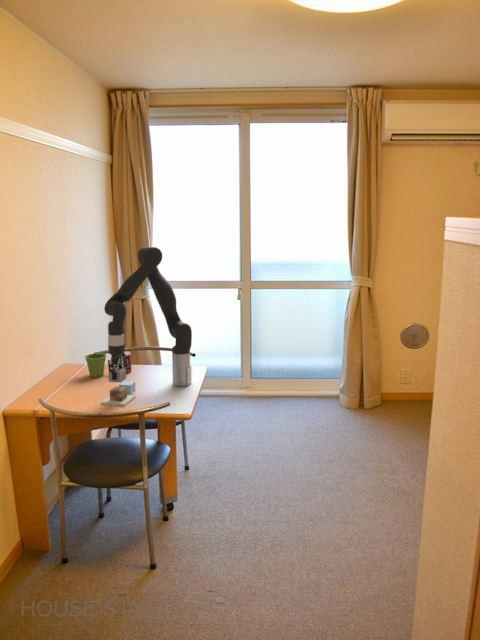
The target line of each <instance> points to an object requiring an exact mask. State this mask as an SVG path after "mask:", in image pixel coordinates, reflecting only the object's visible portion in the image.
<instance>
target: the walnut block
mask: <svg viewBox="0 0 480 640" xmlns="http://www.w3.org/2000/svg"><path fill="white" fill-rule="evenodd" d="M109 396H110V400H111V401H123V400H124V399H125V398H127V387H119V385H118V386H114V387H112V388H111V389H109Z"/></svg>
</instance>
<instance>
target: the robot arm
mask: <svg viewBox="0 0 480 640" xmlns="http://www.w3.org/2000/svg"><path fill="white" fill-rule="evenodd" d="M137 260H138V263H139V264H140V266H139V267H138V268H137V269H136V270H135V271H134V272H133V273H132V274H131V275H129V276H128V277H127V278H126V279H125V280H124V282H123V283H122V285H121V286H120V288H119V289H118V291H116V292H115V293H114V294H113V295H112V296H110V298H109V299H108V300H107V301H106V303H105V305H104V308H103V309H104V313H105V314H106V315H107V316H111V317H112V321H110V322H108V324H107V331H108V336H107V347H108V348H107V349H108V351H107V353H108V354H109V355H111V357H110V359H107V366H108V367H107V368H108V371H109V372H112V380H117V368H123V367H124V366H125V356H126V354H125V351H126V345H125V343H126V342H125V330H124V325H125V321H126V315H127V308H126V305H125V304H124V303H126V302H127V303H128V302H130V301H131V300H132V298H133V297H134V296H135V294H136V292H137V291H138V290H139V288H140V287H141V285H142V284H143V283H144V282H145V281H146V279H148V280H147V281H149V282H148V283H149V284H150V286H151V289H152V291H153V292H154V296H155V298H156V301H157V303H158V305H159V308H160V310H161V312H162V314H163V316H164V319H165V322H166V325H167V329H168V332H169V334H170V335H171V337H172V338H174V339H175V345H173V346H172V348H171V357H172V358H171V359H172V360H171V361H172V363H171V364H172V369H171V370H172V385H173V386H176V387H189V385H191V383H192V365H191V349H192V336H193V332H192V328H191V326H190V325H189V323H185V322H183V321H182V319H181V318H180V315H179V313H178V310H177V297H176V294H175V292H174V289H173V287H172V286H171V284H170V282H169V281H168V280H167V279H166V278H165V276H164V275H163V274H162V273H161V272H160V269H159V268H158V266H159V265H160V264H161V262H162V260H163V252H162V250H161V249H160V248H159V247H155V246H146V247H145V246H144V247H141V248H139V250H138V251H137ZM109 372H108V373H109Z"/></svg>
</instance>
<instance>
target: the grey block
mask: <svg viewBox="0 0 480 640" xmlns="http://www.w3.org/2000/svg"><path fill="white" fill-rule="evenodd" d="M126 380H127V374H126V369H123V368H117V380H112V372H109V370H108V382H109V383H110V382H111V383H119V384H120V383H122V382H123V381H126Z"/></svg>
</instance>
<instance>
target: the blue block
mask: <svg viewBox="0 0 480 640" xmlns="http://www.w3.org/2000/svg"><path fill="white" fill-rule="evenodd" d="M118 387H127V395H132V394H133V393H135V392H136V381H130V380H124V381H122V382H121V383H120V382H119V384H118Z"/></svg>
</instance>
